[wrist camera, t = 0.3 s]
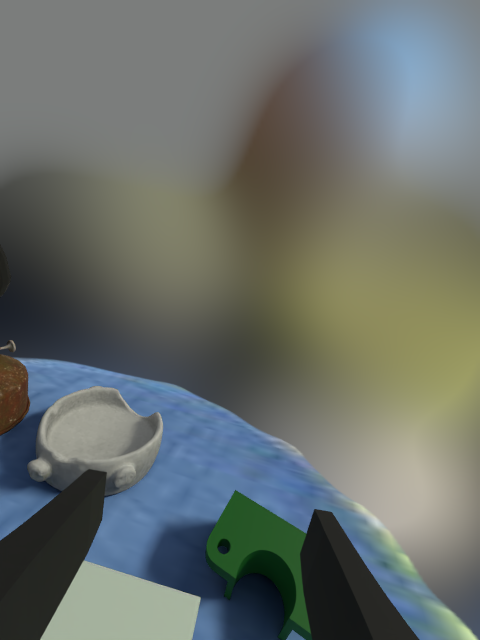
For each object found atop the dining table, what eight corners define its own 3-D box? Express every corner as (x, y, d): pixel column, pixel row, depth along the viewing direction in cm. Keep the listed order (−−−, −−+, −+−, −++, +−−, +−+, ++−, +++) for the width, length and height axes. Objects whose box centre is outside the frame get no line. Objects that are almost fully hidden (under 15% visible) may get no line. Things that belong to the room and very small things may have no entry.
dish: (81, 406, 44) (84, 376, 42) (173, 431, 43) (179, 402, 42) (-8, 486, 30) (-9, 446, 28) (125, 526, 29) (131, 487, 28)
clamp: (211, 608, 28) (183, 544, 25) (241, 545, 33) (220, 485, 30) (342, 686, 22) (326, 613, 19) (356, 594, 27) (344, 525, 24)
